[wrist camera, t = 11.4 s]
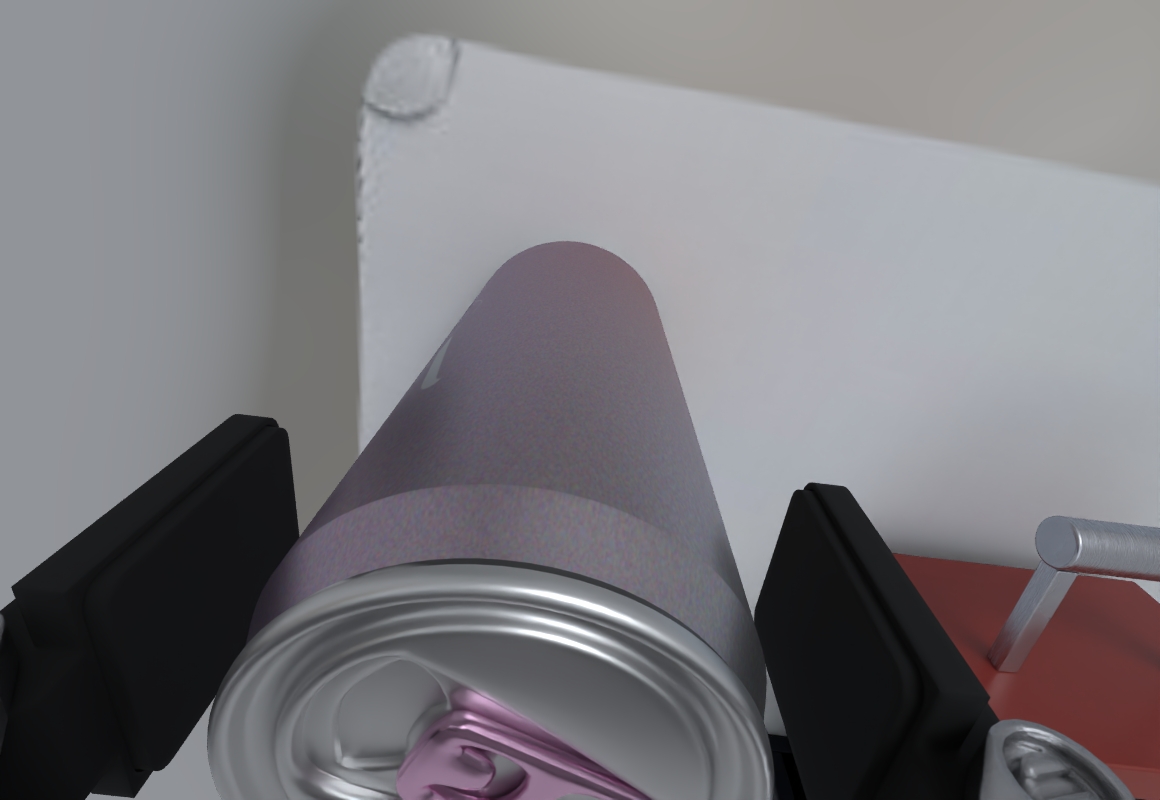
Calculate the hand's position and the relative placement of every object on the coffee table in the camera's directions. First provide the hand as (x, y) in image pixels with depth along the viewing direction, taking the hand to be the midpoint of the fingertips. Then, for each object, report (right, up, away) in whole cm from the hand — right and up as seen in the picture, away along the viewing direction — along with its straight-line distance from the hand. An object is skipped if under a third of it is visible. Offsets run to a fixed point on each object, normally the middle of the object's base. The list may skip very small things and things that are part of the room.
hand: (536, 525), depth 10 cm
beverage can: (0, +5, +10) cm, 11 cm away
